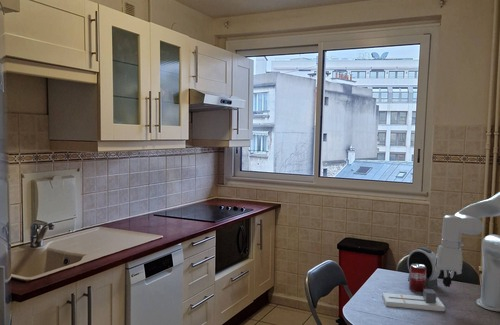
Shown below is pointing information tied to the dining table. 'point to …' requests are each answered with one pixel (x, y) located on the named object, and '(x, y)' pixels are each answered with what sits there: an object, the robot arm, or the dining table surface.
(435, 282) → the alarm clock
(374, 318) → the dining table surface
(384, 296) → the console
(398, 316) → the dining table surface
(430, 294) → the fader knob
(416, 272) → the soda can
